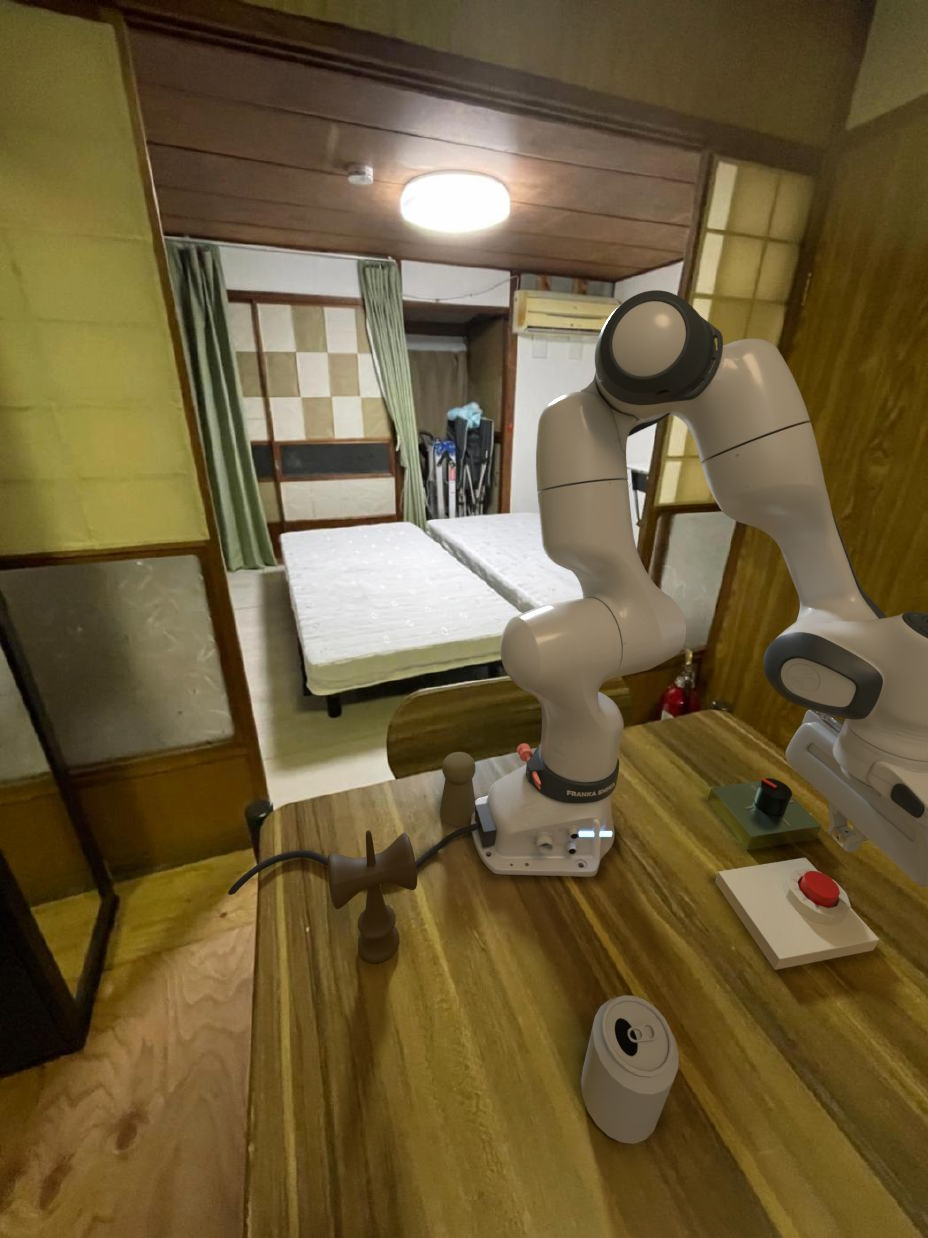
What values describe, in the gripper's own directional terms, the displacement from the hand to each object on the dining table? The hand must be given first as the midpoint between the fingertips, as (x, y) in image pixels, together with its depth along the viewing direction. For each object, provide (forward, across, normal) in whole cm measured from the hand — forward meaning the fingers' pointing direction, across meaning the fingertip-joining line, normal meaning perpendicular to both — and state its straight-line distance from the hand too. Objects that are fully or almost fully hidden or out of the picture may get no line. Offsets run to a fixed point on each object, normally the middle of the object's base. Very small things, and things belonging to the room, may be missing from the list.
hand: (841, 842), depth 63 cm
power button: (+9, 0, 0) cm, 9 cm away
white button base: (+13, 0, -3) cm, 13 cm away
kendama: (+13, -5, -57) cm, 59 cm away
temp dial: (+10, -15, +5) cm, 19 cm away
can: (+13, +14, -34) cm, 39 cm away
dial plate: (+13, -15, +4) cm, 20 cm away
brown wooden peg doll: (+14, -24, -44) cm, 52 cm away
